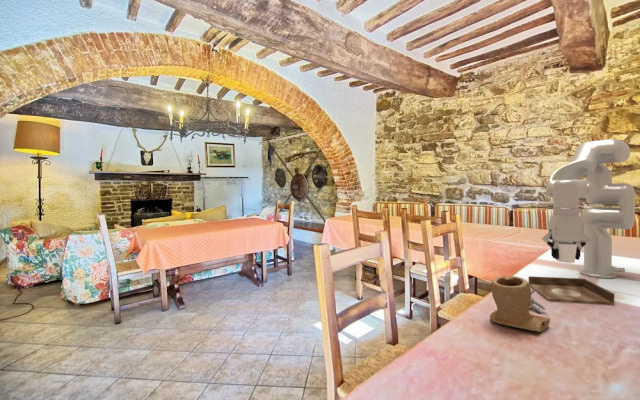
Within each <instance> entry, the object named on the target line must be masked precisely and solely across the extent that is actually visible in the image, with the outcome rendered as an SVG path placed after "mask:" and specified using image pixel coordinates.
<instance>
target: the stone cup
mask: <svg viewBox="0 0 640 400" xmlns="http://www.w3.org/2000/svg"><path fill="white" fill-rule="evenodd" d="M490 289H491V294H492V295H491V296H492V298H493V300H494V303H495V305H496V309H497V310H494V311H493V312H491V313H490V314H489V318H490V320H491V321H492V322H493V323H496V324H499V325H504V326H507V327H513V328H517V329H522V330H527V331H533V332H539V333H541V332H543V331H545V330H546V329H547V328H548V326H550V322H551V319H550V318H549V317H543V316H539V315H534V314H531V313H530V307H531V306H530V301H531V297H532V294H531V292H532V288H531V287H530V285H529V281H528V280H526V279H525V278H523V277H521V276H515V275H514V276H513V275H512V276H498V277H496V278H494V279H492V281H491V282H490Z"/></svg>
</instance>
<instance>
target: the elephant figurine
mask: <svg viewBox="0 0 640 400" xmlns="http://www.w3.org/2000/svg"><path fill="white" fill-rule="evenodd" d="M535 290H536V289H531V295H532V294H534V293H535V292H536V291H535ZM529 307H531V308H532V309H534V310H536V311H537V313H539V314H543V312H544V311H545V310H546V309H547V308H546V307H545V306H544V305H542V304H541V303H539V302H538V301H537V300H535V299H534V298H533V297H532V296H531V301H530V306H529Z"/></svg>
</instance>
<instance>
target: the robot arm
mask: <svg viewBox="0 0 640 400" xmlns="http://www.w3.org/2000/svg"><path fill="white" fill-rule="evenodd" d="M630 156H631V148H630V146H629V145H628V143H626V141H625V142H624V141H623V140H620V139H617V138H607V139H597V140H589V141H588V140H587V141H585V142H582V143H580V144H578V146H577V148H576V149H575V152H574V154H573V156H572V158H571V160H570V162H569V163H566V164H564V165H562V166H561V167H559V168H557V169H556V170H554V171H553V172H552V173H551V174H550V176H549V178H548V180H547V182H546V186H545V192H546V195H547V196H548V197H549V198H551V199H553V203H552V204H553V206H552V207H553V210H552V213H553V215H550V217H549V221H548V222H549V223H548V227H547V233H546V234H545V235H544V236H542V237H541V240H542V241H543V242H545V243H546V244H547V245H548V246H549V247H550V248H551V256H552V259H555V260H556V259H559V250H558V249H557V246H558V244H559V242H571V243H576V244H577V249H576V256H575V260H578V261H580V257H581V250H583V268H582V269H581V268H580V269H579V273H580V274H581V275H584V276H586V277H587V276H588V277H592V278H597V279H615V278H617V272H618V273H626V269H625V267H618V266H613V265H612V261H613V259H612V257H613V248H612V246H613V239H612V236H611V234H610V233H609V232H608V231H607V230H606V229H614V230H631V229H632V228H633V227H634V225H635V219H636V192H635V191H636V190H635V188H634V186H633V185H632V184H630V183H626V182H625V183H624V182H623V183H622V182H620V183H618V182H617V183H616V182H614V183H613V182H612V180H613V178H612V177H613V173H612V170H611V169H610V168H609V167H607V166H606V165H605V164H617V163H618V164H619V163H624V162H626V161H627V160H628V159H629V158H630ZM583 177H586V179H585V178H584V179H583ZM579 199H586V200H587V202H588V203H590V204H595V205H618V206H619V207H608V206H605V207H603V206H591V207H585V209H582V208H580V207H579ZM580 213H581V216H580ZM550 240H551V241H550Z"/></svg>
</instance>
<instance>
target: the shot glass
mask: <svg viewBox="0 0 640 400" xmlns="http://www.w3.org/2000/svg"><path fill="white" fill-rule="evenodd" d="M557 249H558V250H559V259H555V260H556V261H557V262H561V263H567V264H568V263H569V264H571V263H572V264H574V263H576V259H575V256H576V249H577V244H576V243H572V242H559V244H558V246H557Z"/></svg>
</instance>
